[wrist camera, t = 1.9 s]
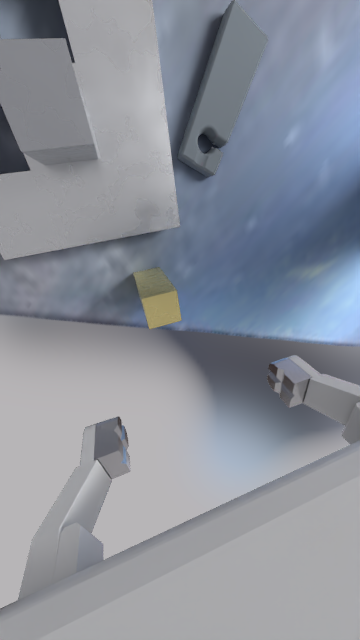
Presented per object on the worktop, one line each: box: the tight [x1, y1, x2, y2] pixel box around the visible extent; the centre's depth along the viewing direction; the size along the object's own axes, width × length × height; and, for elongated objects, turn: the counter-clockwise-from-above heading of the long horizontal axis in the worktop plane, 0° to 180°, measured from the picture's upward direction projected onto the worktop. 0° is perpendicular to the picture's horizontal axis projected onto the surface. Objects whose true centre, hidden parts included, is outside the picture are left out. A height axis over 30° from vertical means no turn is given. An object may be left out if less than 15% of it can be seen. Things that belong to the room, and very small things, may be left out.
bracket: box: [177, 0, 268, 177], centre depth 19 cm, size 4×10×2 cm, turn 157°
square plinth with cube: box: [0, 0, 180, 260], centre depth 14 cm, size 16×16×8 cm
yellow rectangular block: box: [133, 267, 181, 329], centre depth 22 cm, size 3×3×8 cm
